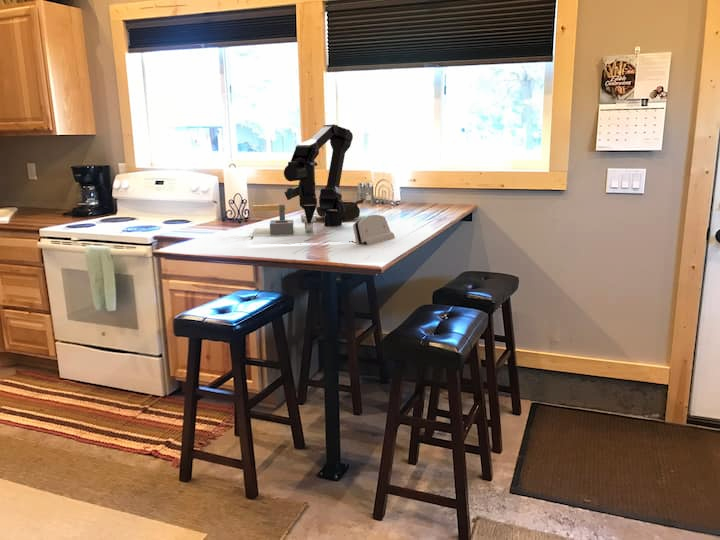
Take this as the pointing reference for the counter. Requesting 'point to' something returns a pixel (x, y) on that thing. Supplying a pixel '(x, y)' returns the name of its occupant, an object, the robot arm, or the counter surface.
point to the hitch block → (281, 228)
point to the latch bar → (268, 207)
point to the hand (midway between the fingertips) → (308, 221)
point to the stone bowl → (350, 212)
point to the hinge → (372, 230)
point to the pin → (308, 225)
